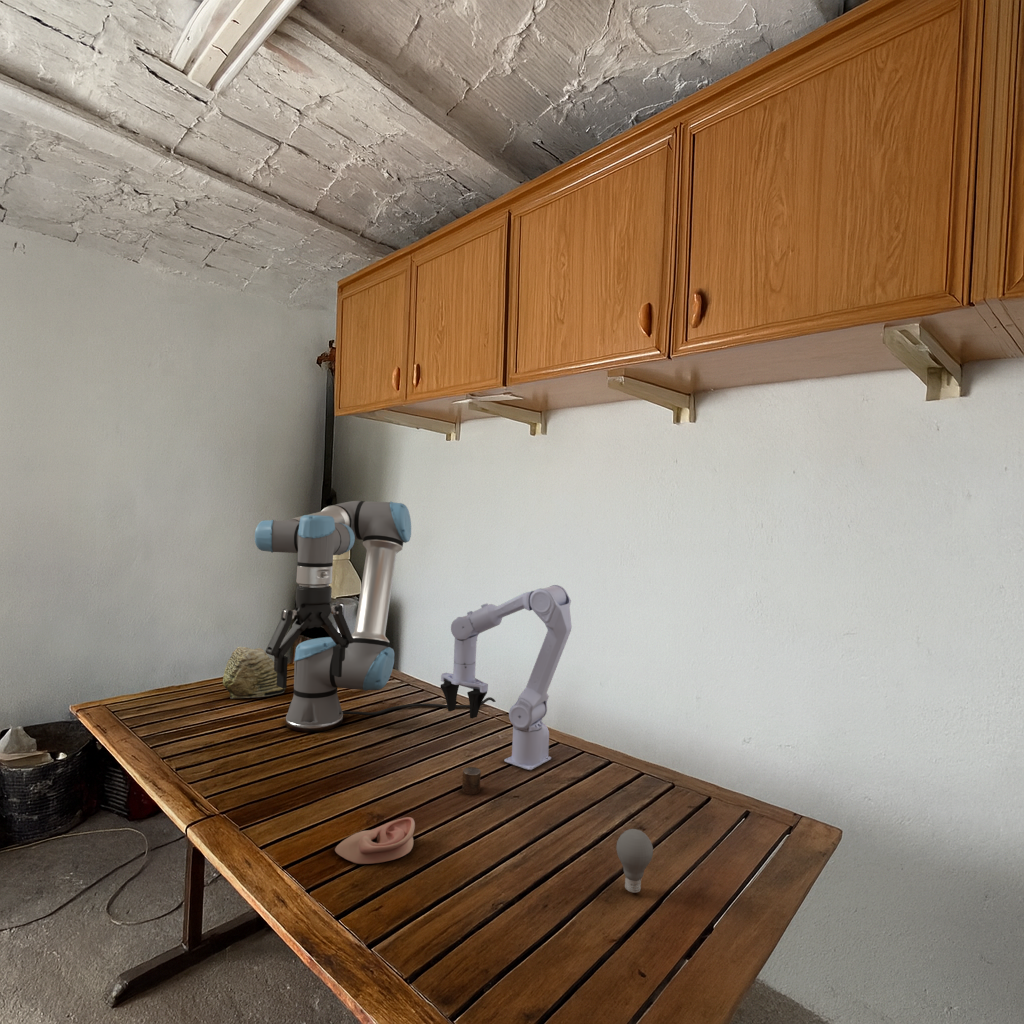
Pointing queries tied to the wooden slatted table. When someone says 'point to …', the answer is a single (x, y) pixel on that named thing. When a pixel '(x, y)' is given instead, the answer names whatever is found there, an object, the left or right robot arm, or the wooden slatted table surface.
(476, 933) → the wooden slatted table surface
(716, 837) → the wooden slatted table surface
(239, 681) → the fossil
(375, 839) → the anatomical model
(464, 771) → the tin
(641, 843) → the light bulb
